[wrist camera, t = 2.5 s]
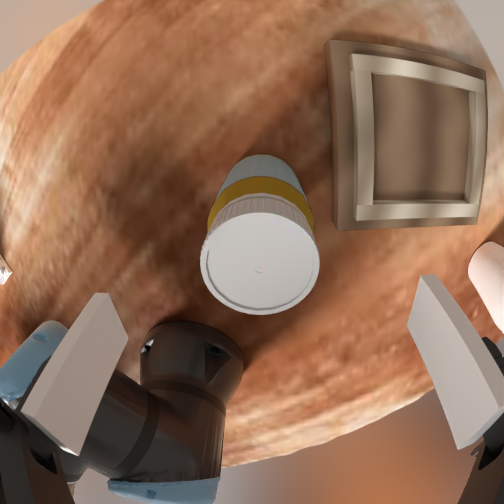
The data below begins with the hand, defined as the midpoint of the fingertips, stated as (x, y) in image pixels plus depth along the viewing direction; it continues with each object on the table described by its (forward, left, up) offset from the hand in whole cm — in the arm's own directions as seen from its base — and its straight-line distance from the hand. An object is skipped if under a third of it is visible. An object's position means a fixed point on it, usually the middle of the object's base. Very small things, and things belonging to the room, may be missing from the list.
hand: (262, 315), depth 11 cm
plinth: (+16, +5, -19) cm, 25 cm away
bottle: (0, 0, -19) cm, 19 cm away
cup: (+31, -11, -19) cm, 38 cm away
